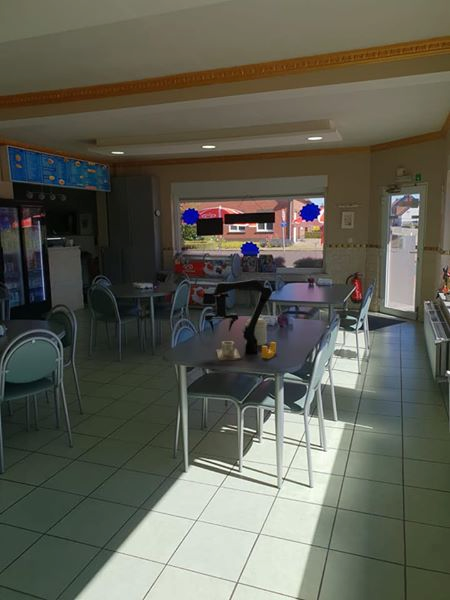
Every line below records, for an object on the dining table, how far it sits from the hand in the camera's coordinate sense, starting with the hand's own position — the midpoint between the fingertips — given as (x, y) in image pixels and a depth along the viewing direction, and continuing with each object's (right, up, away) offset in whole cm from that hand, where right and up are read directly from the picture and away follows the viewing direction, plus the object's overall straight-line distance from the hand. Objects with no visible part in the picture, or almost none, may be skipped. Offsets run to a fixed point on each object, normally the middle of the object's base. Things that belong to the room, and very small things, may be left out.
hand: (220, 331), depth 264 cm
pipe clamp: (+28, -13, -4) cm, 31 cm away
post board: (+4, -13, -4) cm, 14 cm away
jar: (+22, -9, +23) cm, 32 cm away
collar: (+4, -12, -4) cm, 13 cm away
